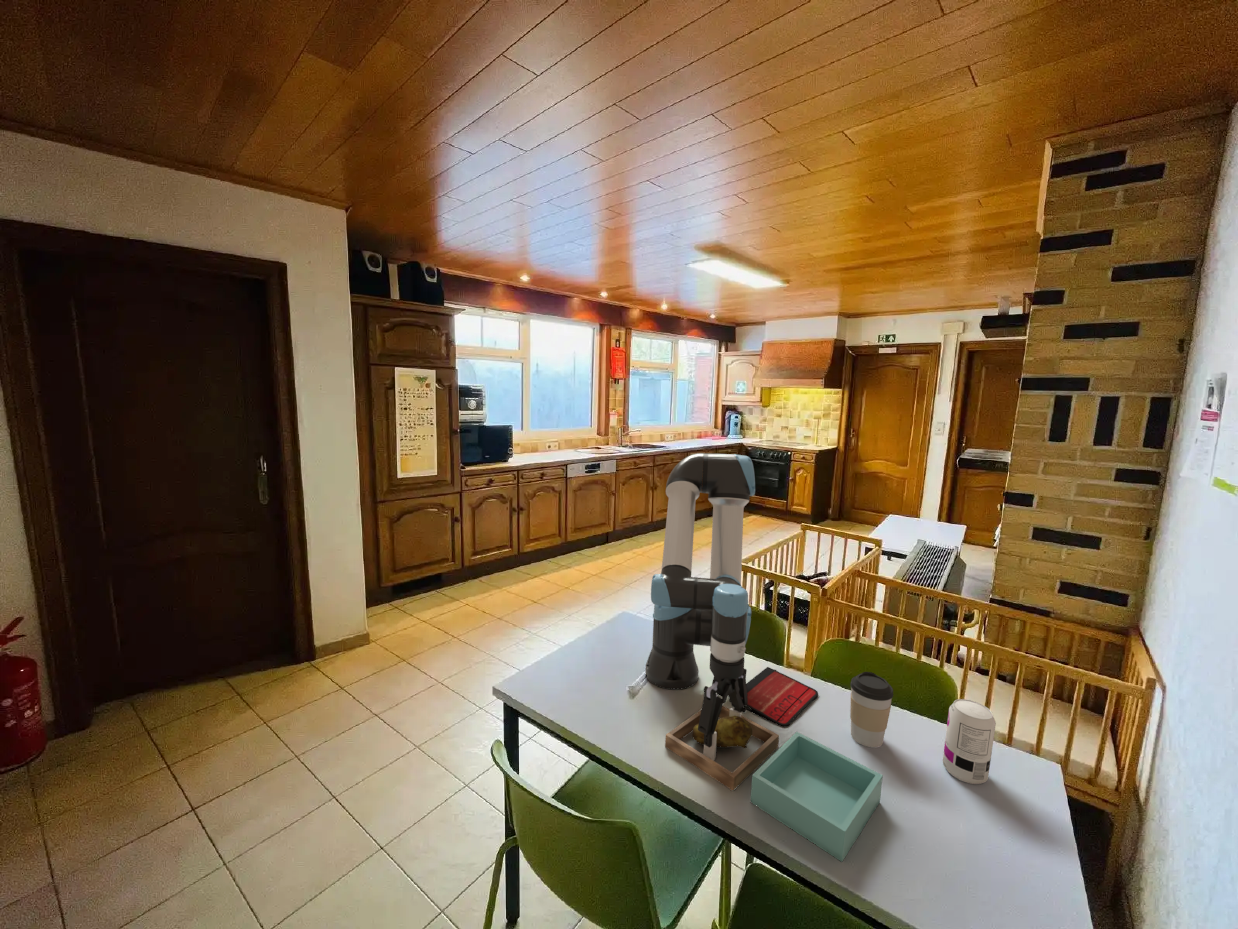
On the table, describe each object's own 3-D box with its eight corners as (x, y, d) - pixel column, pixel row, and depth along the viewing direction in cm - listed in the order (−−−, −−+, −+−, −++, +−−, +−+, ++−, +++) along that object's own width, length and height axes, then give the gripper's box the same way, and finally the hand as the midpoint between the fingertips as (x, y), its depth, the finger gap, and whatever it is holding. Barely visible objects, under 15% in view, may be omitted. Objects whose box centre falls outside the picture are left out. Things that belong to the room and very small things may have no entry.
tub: (750, 802, 102) (752, 775, 101) (794, 756, 115) (796, 731, 114) (842, 862, 89) (845, 831, 88) (879, 802, 102) (882, 775, 101)
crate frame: (665, 746, 117) (665, 734, 116) (713, 711, 130) (713, 700, 130) (733, 791, 104) (733, 777, 104) (778, 747, 118) (779, 735, 117)
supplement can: (933, 764, 113) (941, 702, 111) (958, 755, 117) (966, 694, 114) (971, 791, 106) (980, 724, 104) (996, 780, 109) (1005, 715, 107)
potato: (704, 726, 124) (706, 696, 123) (755, 749, 117) (757, 717, 116) (687, 744, 118) (689, 712, 117) (740, 770, 110) (742, 736, 109)
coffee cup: (893, 754, 116) (900, 693, 114) (850, 747, 118) (856, 687, 116) (881, 728, 125) (887, 671, 123) (842, 723, 127) (847, 666, 125)
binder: (729, 695, 134) (767, 665, 150) (728, 703, 135) (766, 672, 150) (787, 725, 124) (821, 690, 139) (785, 734, 124) (820, 698, 139)
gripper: (713, 680, 104) (707, 780, 107) (767, 644, 119) (761, 732, 122) (683, 665, 109) (679, 761, 112) (739, 633, 124) (734, 718, 128)
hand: (722, 746), depth 117 cm, fingers open, 9 cm apart
